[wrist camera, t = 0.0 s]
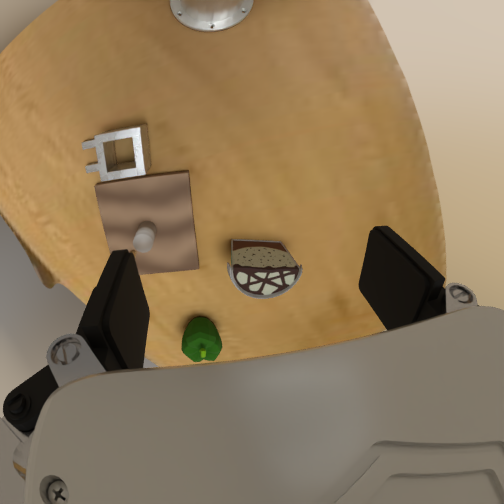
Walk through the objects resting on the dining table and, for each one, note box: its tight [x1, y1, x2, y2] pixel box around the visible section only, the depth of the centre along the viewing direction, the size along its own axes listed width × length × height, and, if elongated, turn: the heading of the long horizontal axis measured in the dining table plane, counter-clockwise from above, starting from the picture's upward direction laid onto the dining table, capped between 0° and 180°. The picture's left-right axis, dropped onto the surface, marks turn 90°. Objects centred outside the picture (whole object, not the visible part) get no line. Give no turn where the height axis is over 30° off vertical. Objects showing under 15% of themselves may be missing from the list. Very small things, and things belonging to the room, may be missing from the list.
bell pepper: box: [182, 317, 222, 362], centre depth 57 cm, size 8×8×10 cm
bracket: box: [82, 124, 151, 182], centre depth 38 cm, size 11×7×6 cm, turn 91°
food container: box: [227, 239, 302, 299], centre depth 50 cm, size 12×6×10 cm, turn 82°
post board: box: [94, 170, 199, 275], centre depth 45 cm, size 18×16×6 cm
